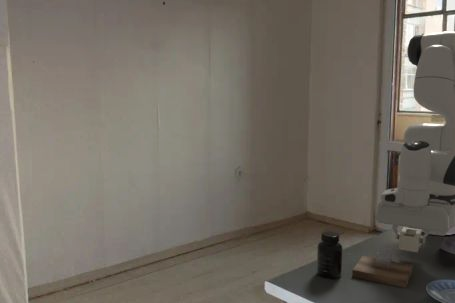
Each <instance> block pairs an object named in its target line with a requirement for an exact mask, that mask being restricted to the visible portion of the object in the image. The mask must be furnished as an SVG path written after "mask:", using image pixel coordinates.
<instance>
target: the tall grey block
mask: <svg viewBox="0 0 455 303" xmlns="http://www.w3.org/2000/svg"><path fill="white" fill-rule="evenodd" d="M392 257H393V254H392V253H388V252H387V253H386V252H382V251H376V253H375V258H376V261H375V267H378V268H383V269H388V270H390V269H391V261H393V260H392V259H393V258H392Z"/></svg>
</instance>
